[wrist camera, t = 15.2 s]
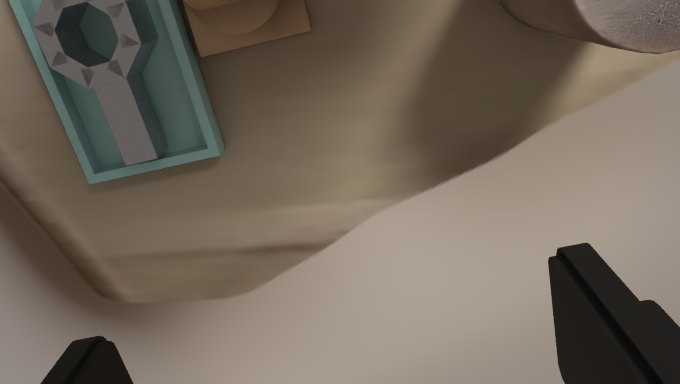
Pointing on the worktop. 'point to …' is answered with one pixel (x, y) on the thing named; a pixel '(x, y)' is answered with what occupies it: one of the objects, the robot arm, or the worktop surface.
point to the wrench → (108, 68)
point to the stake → (243, 22)
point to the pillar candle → (606, 21)
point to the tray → (160, 81)
